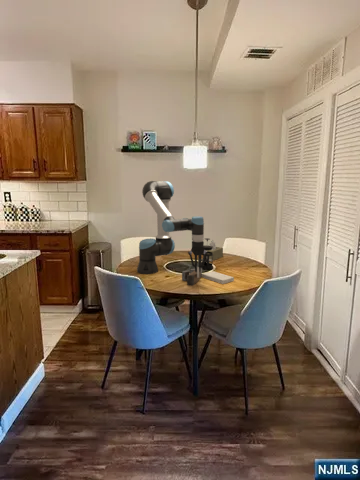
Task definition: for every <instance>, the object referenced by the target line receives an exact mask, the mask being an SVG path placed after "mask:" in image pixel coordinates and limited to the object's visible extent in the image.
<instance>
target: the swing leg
mask: <svg viewBox="0 0 360 480" xmlns="http://www.w3.org/2000/svg"><path fill="white" fill-rule="evenodd" d="M201 278H202V277H201V272H199V278H197V272H195V271H193V272H192V273H191V274H189V275H187V281H186V286H190V287H191V286H195V285H196V283H198V281H199V280H201Z"/></svg>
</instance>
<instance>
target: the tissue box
mask: <svg viewBox="0 0 360 480" xmlns="http://www.w3.org/2000/svg"><path fill="white" fill-rule="evenodd" d="M209 246H213V248H212V250H205V251H207V252H212V253H213V261H216V260H218V259H221V258H223V256H224V255H223V254H224V247H220V246H219V247H218V246H217V245H216V242H215V241H214V240H213V239H212V241H211V242H210V243H209ZM203 254H204V253H203ZM208 254H209V253H208ZM209 259H211V260H212V256H209Z"/></svg>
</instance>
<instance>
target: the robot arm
mask: <svg viewBox="0 0 360 480" xmlns="http://www.w3.org/2000/svg"><path fill="white" fill-rule="evenodd" d="M174 189H175V188H174V186H173V184H172V183H171V182H170V181H167V180H166V181H165V180H163V181H162V180H151V181H147V182H146V183H145V184H144V185H143V187H142V191H141V193H142V197H143V198H144V200H145V201H146V202H148V203H149V205H150V206H151V207H152V208H153V211H154V212H155V214H156V219H157V220H156V221H157V222H156V223H157V226H156V227H157V235H156V236H155V238H145V239H142V240H140V241H139V246H138V251H139V252H138V253H139V254H138V256H139V258H138V259H139V261H138V264H137V268H136V272H137V274H143V275H151V274H153V275H154V274H156V273H158V272H159V268H158V264H157V262H156V257H160V256H168V255H172V254H173V253H174V251H175V246H176V245H175V240H174V239H172V236H171V235H170V233H172V232H173V233H174V232H181V231H182V232H183V231H191V249H190V251H188V252H187V254H188V255H189V258H190V263H191V266H192V267H193V268H195V272H197V278H199V272H201V267H202V266H204V262H205V258H206V255H207V254H208V252H207V251H205V250H204V245H205V244H204V243H205V242H204V241H205V238H204V230H205V227H204V225H205V223H204V217H203V216H199V215H198V216H192V217H191V218H187V217H184V218H181V219H180V218H177V219H175V217H174V216H173V214H172V213H171V212H170V209H169V207H170V206H169V205H170V201H172V200H171V198H172V197H173V196H174V193H175V190H174ZM203 252H204V256H203V255H202V253H203ZM192 255H194V259H193V256H192ZM201 255H202V259H203V260H202V261H201ZM198 256H199V265H198Z"/></svg>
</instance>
